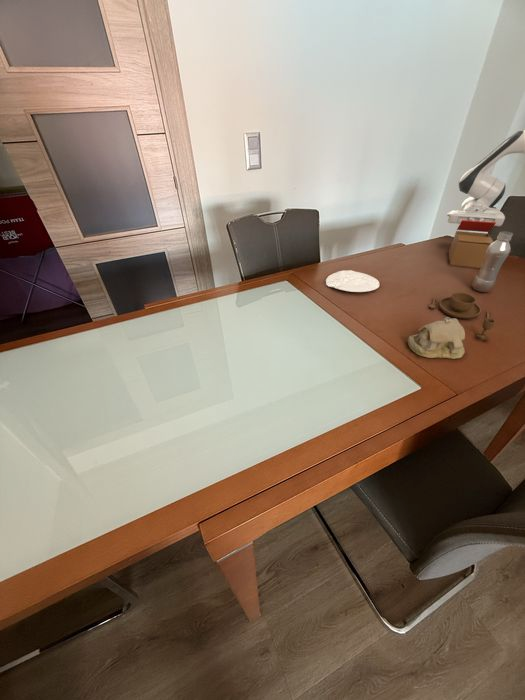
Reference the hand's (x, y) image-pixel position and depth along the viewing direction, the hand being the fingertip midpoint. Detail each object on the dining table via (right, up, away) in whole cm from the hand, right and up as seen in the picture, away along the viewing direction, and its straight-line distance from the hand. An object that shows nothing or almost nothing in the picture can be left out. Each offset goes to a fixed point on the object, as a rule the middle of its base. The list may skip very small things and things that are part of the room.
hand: (476, 223), depth 123 cm
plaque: (-53, -26, -6) cm, 59 cm away
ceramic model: (-39, -51, -38) cm, 75 cm away
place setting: (-25, -41, -27) cm, 55 cm away
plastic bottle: (-9, -30, -15) cm, 35 cm away
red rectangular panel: (0, -1, 0) cm, 1 cm away
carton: (-1, -13, +5) cm, 14 cm away
